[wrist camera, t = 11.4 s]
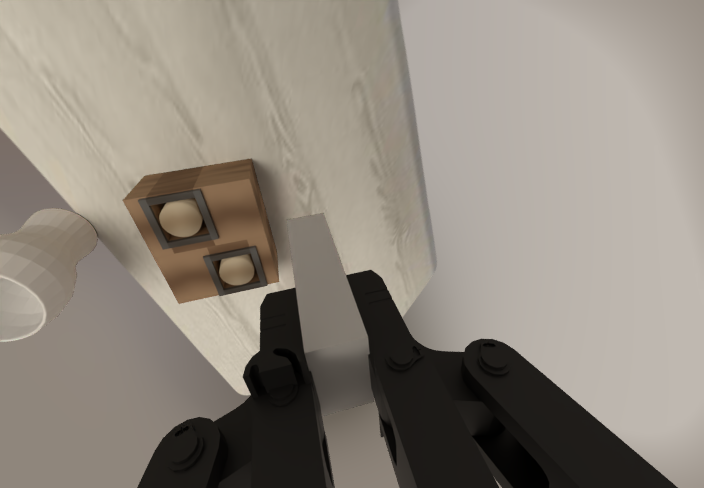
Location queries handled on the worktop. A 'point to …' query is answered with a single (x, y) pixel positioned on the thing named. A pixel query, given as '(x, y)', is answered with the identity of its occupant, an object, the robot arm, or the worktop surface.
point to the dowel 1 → (181, 217)
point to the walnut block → (207, 227)
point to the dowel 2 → (237, 269)
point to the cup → (40, 269)
